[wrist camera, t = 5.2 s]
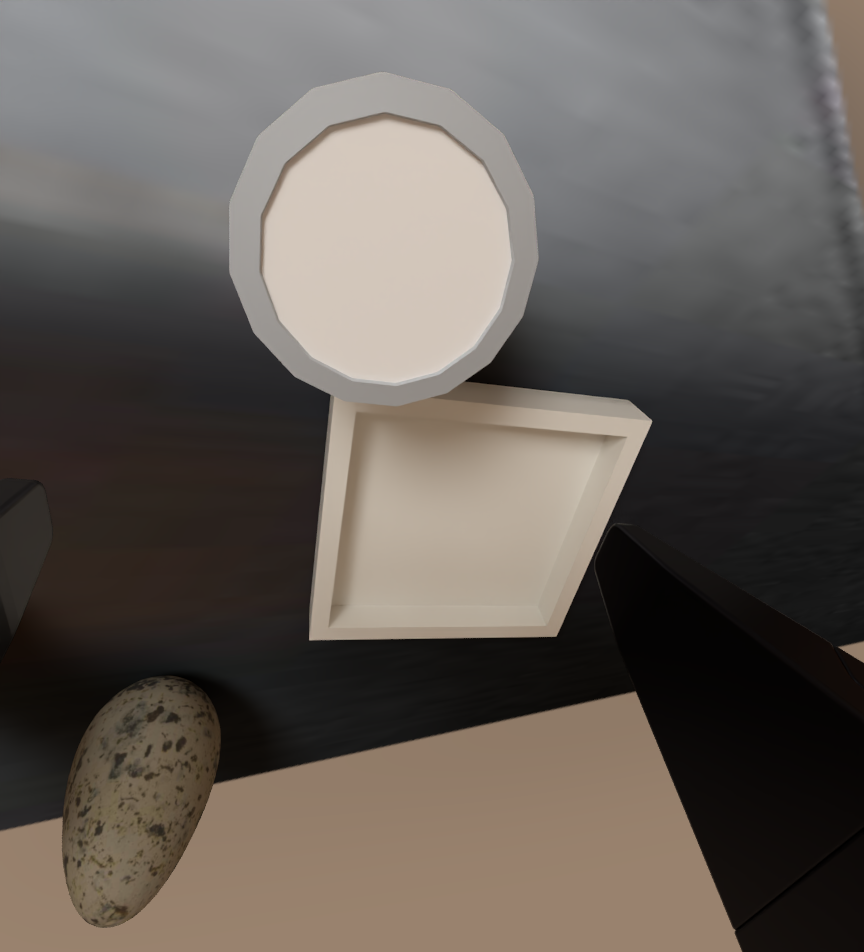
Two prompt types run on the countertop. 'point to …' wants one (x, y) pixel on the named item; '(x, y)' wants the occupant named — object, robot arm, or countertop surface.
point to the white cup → (382, 239)
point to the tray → (465, 511)
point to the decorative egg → (137, 795)
